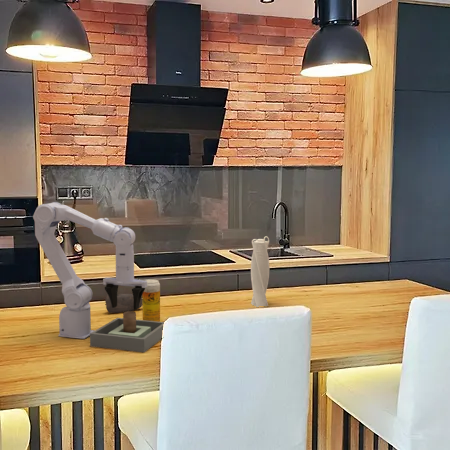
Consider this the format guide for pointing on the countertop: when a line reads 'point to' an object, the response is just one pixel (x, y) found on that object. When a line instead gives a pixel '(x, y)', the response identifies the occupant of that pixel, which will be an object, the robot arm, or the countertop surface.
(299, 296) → the countertop surface
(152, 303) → the beer can
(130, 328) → the walnut peg
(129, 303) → the perforated stone tool
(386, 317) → the countertop surface
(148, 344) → the graphite box
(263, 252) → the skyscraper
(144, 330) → the plate
